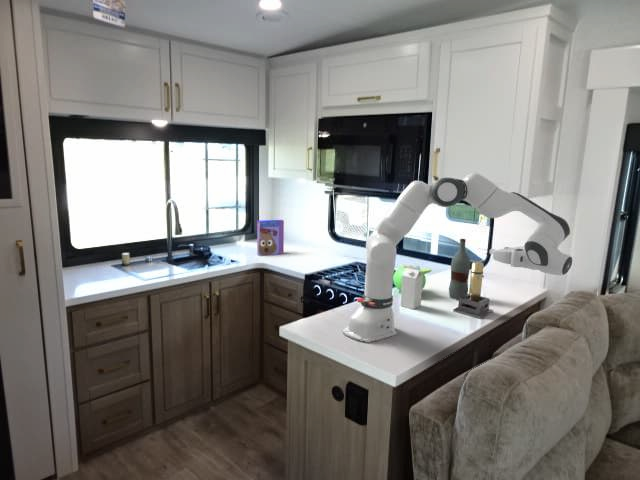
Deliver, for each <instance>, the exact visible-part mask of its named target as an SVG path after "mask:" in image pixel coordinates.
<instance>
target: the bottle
mask: <svg viewBox="0 0 640 480" xmlns="http://www.w3.org/2000/svg"><path fill="white" fill-rule="evenodd" d="M466 241H467V240H466V239H465V238H459V246H458V247H459V248H458V251H457V252H456V253H455V254H454V255H453V256H452V259H451V263H450V282H449V287H448V295H449V298H451V299H453V300H456V301H457V300H458V301H459V298H460V297H462V296H465V295H467V294H469V276H470V272H471V259H470V258H469V255H468V254H467V251H466Z"/></svg>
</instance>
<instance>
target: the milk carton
mask: <svg viewBox="0 0 640 480" xmlns="http://www.w3.org/2000/svg"><path fill="white" fill-rule="evenodd" d="M411 266H412V265H408V266H406V269H405V271H404V273H403V275H402V286H401V291H400V303H399V306H400V307H405V308H409V309H412V310H415V309H416V308H418V307H420V306H421V305H422V292H423V289H422V280H423V275H422V273H421V271H420V269H421V268H416V266H413V267H411Z"/></svg>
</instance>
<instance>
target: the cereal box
mask: <svg viewBox="0 0 640 480" xmlns="http://www.w3.org/2000/svg"><path fill="white" fill-rule="evenodd" d="M256 222H257V223H256V226H257V228H256V230H257V231H256V233H257V234H256V235H257V236H256V237H257V238H256V239H257V240H256V242H257V243H256V245H257V247H256V248H257V254H256V255H258V256H259V257H265V256H268V257H269V256H280V255H284V253H285V252H284V245H285V243H284V242H285V241H284V239H285V233H284V230H285V228H284V227H285V224H284V223H285V221H284V219H271V220H270V219H269V220H268V219H267V220H257V221H256Z"/></svg>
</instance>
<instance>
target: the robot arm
mask: <svg viewBox="0 0 640 480" xmlns="http://www.w3.org/2000/svg"><path fill="white" fill-rule="evenodd" d="M462 201H463V202H466V203H468V204H470V205H471V207H473V208H474V209H475V210H476V211H478V212H479V213H480V214H481V215H483V216H484V217H486V218H489V219H497V218H498V219H499V218H501V217H504V216H505V215H508V214H509V213H512V212H520V213H522V214H523V215H525V216H527V217H528V218H530V219H531V220H533V221H534V222H536V223H537V224H538V227H537V228H536V229H535V231H534V232H533V233H532V234H531V235H530V236H529V238H527V240H526V242H524V245H523V246H522V245H521V246H515V247H509V246H507V247H506V246H505V247H504V248H501V249H495V248H490V249H489V255H492V259H493V261H495V262H499V263H502V264H505V265H510V267H513V268H524V269H529V270H533V271H539V272H541V273H544V274H548V275H554V276H564V275H566V274H567V273H569V270H571V268H572V265H573V258H572V256H571V255H569V254H566V253H563V252H561V251H560V250H559V246H560V245H561V244H562V243H563V242H564V241H565V240H566V239H567V237H569V235H570V234H571V228H570V225H569V223H568V221H566V219H564V218H563V217H562V216H559V215H556V214H554V213H553V212H550V211H548V210H547V209H545V208H544V207H542V206H540V205H539V204H537V203H536V202H534V201H532V200H531V199H529V198H528V197H525V196H524V195H522V194H521V193H518V192H515V191H513V192H508V191H505V190H503V189H501V188H500V187H498V185H496V184H495V183H494V182H492V181H491V180H489V179H488V178H487V177H485V176H484V175H481V174H480V173H477V172H471V173H469V174H467V175H465V176H464V177H463V178H462V179H459V178H455V177H442V178H439V179H437V180H436V181H434V182H432V183H431V184H428V183H426V182H424V181H423V180H413V181H411V182H410V183H409V184H408V185H407V186H406V187H405V189H404V190H402V192H401V193H400V195H399V196H398V197H397V199H396V200H395V201H394V203H393V204H392V206H391V208H390V209H389V210H388V212H387V213H386V215H384V218H383V219H382V220H381V221H380V222H379V223H378V224H377V226H376V227H375V228H374V229H373V230H372V232H371V233H370V235H369V236H368V238H367V239H366V242H365V249H366V266H365V276H364V279H365V280H364V293H363V296H362V297H358V298H357V299H356V301H357V303H360V305H359V307H357V309H356V310H355V311H354V312H353V313H352V315H351V316H350V318H349V320H348V325H347V326H346V327H345V328H343V329H342V331H341V332H342V334H343V333H344V334H343V335H345V336H346V335H347V336H346V337H348V336H349V337H348V338H350V337H351V338H350V339H352V338H354V339H353V340H355V339H357V340H356V341H358V340H360V341H359V342H362V341H365V342H364V343H372V342H375V340H376V341H379V340H382V339H385V338H391V337H393V336H396V335H397V331H396V330H395V316H394V315H395V313H394V311H393V305H394V296H393V286H394V285H393V284H394V281H393V276H394V273H395V267H396V258H397V247H396V246H397V245H398V244H399V243H400V242H401V241H402V240H403V238H405V236H406V235H408V234H409V233H410V232H411V230H412V229H413V228H414V226H415V224H416V223H417V221H418V220H419V219H420V217H421V216H422V214H423V212H424V211H425V210H426V209H427V208H428V206H430V205H432V204H433V205H437V206H439V207H441V208H450V207H453V206H454V205H456V204H458V203H460V202H462ZM371 341H372V342H371Z"/></svg>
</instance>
